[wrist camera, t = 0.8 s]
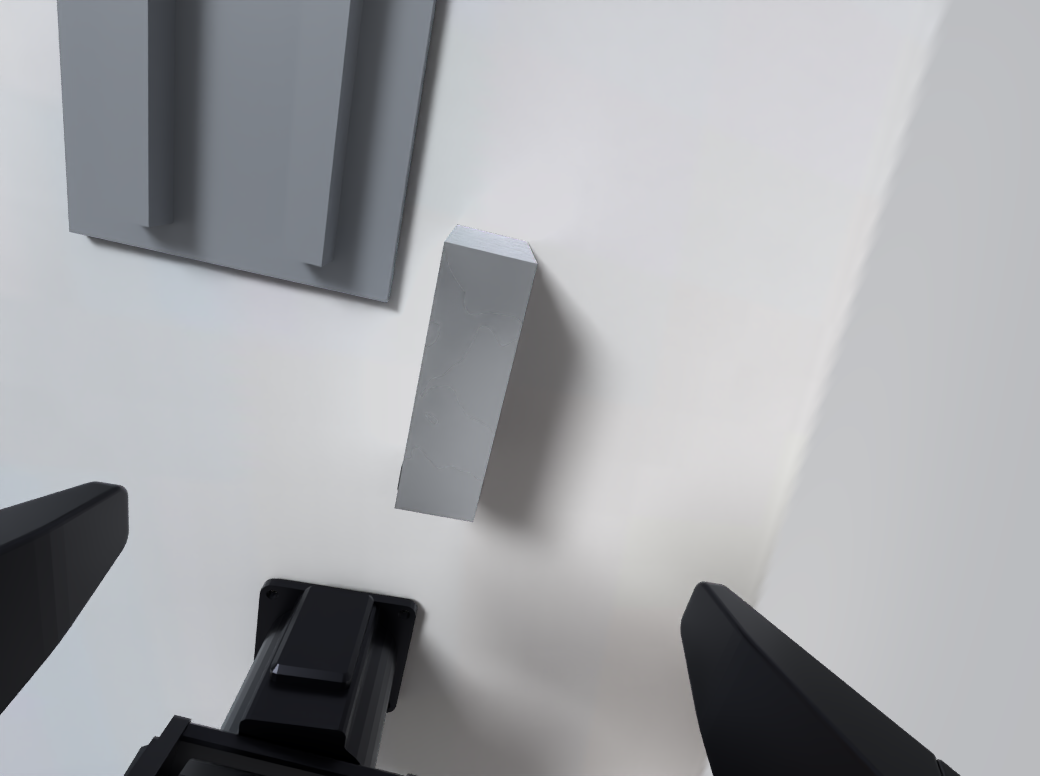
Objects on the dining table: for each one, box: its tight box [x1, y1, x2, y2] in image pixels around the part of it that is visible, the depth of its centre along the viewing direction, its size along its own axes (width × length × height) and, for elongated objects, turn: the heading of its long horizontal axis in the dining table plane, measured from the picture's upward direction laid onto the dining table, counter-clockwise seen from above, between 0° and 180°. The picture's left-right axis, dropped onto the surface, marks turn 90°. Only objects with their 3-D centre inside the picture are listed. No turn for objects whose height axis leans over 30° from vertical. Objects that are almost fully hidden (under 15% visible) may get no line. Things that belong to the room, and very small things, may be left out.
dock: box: [57, 0, 436, 303], centre depth 15 cm, size 14×10×2 cm
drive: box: [395, 224, 538, 522], centre depth 17 cm, size 8×2×5 cm, turn 166°
